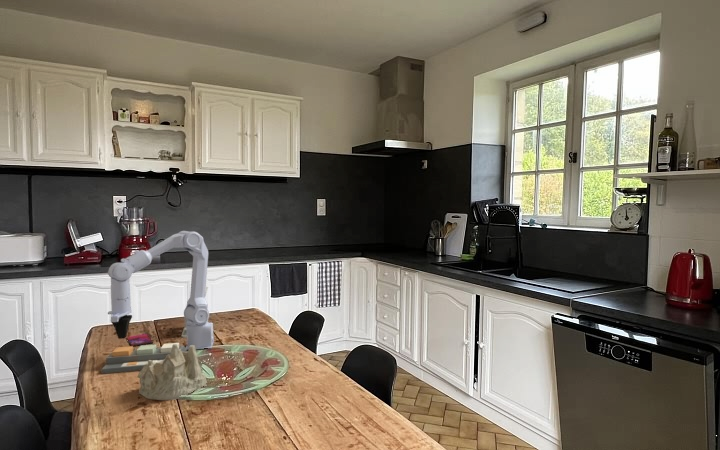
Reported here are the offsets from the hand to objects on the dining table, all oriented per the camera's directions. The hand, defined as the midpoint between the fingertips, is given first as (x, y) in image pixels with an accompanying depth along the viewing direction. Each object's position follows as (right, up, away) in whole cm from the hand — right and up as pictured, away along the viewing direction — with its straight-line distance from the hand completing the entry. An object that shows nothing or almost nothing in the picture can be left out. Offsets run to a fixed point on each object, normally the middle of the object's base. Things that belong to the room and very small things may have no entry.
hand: (122, 338), depth 148 cm
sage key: (+7, -6, +2) cm, 10 cm away
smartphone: (-8, -9, +26) cm, 29 cm away
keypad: (+7, -9, +2) cm, 12 cm away
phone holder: (+10, -7, +39) cm, 41 cm away
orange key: (0, -6, 0) cm, 6 cm away
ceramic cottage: (+26, -10, -20) cm, 35 cm away
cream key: (+15, -5, +3) cm, 16 cm away
